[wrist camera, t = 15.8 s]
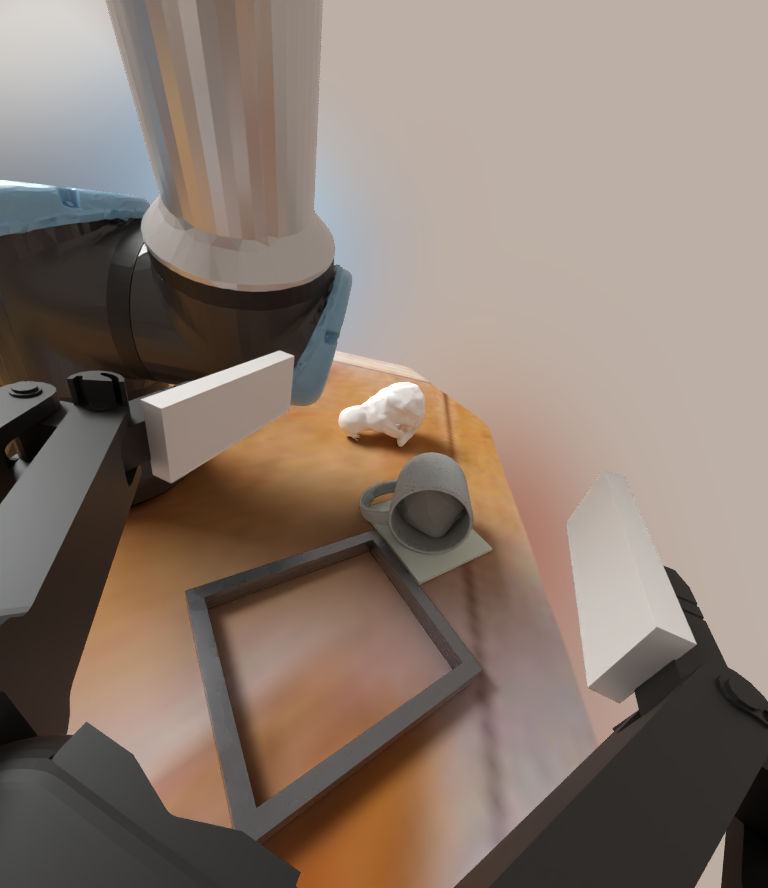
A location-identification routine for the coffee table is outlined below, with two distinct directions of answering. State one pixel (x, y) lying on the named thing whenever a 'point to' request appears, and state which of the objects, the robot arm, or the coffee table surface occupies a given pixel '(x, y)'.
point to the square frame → (359, 750)
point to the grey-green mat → (431, 564)
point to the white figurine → (387, 413)
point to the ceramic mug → (425, 504)
